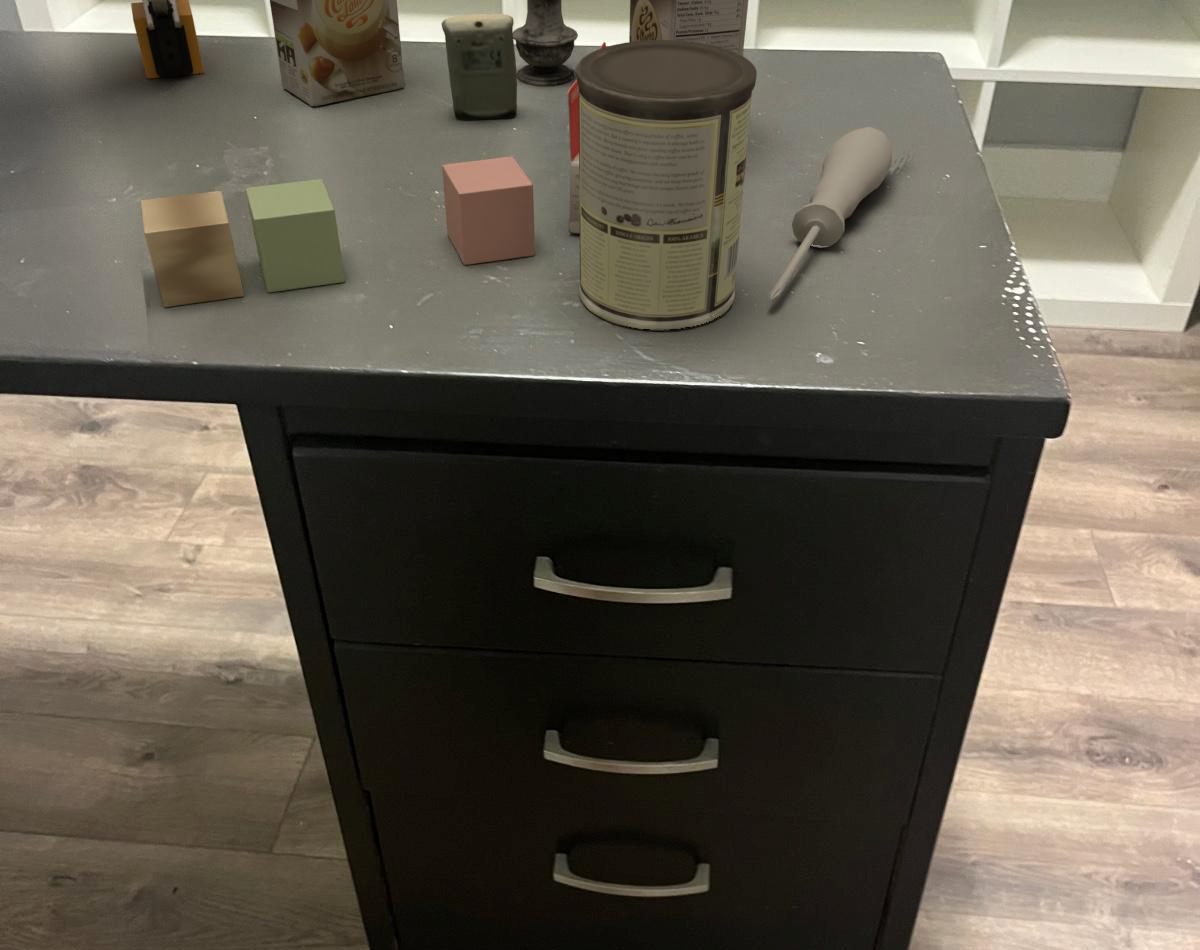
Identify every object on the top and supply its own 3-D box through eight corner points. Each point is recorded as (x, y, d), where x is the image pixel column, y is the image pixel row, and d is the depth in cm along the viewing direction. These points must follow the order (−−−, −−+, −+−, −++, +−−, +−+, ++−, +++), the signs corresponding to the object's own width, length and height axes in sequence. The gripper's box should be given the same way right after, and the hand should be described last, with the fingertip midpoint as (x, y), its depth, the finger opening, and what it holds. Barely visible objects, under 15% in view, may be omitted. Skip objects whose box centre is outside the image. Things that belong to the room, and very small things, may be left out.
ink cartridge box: (634, 177, 90) (638, 42, 84) (600, 239, 82) (602, 95, 76) (602, 173, 91) (604, 39, 84) (566, 235, 83) (565, 92, 76)
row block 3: (464, 265, 79) (458, 193, 76) (447, 234, 83) (441, 164, 79) (535, 255, 80) (533, 184, 77) (515, 225, 84) (513, 155, 81)
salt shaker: (556, 91, 104) (555, -61, 96) (501, 79, 106) (494, -70, 98) (589, 72, 108) (590, -75, 100) (534, 61, 110) (531, -84, 102)
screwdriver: (740, 329, 76) (730, 269, 74) (842, 170, 92) (838, 116, 90) (811, 330, 74) (804, 268, 72) (903, 167, 90) (900, 112, 88)
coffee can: (567, 261, 80) (566, 41, 70) (716, 253, 81) (734, 35, 72) (588, 337, 72) (589, 102, 63) (751, 327, 73) (777, 94, 64)
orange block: (147, 78, 106) (132, 19, 102) (144, 61, 109) (130, 2, 106) (204, 73, 107) (192, 14, 103) (200, 56, 110) (188, -2, 107)
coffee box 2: (623, 124, 99) (628, -95, 88) (694, 116, 100) (708, -100, 89) (661, 165, 92) (672, -65, 81) (737, 156, 94) (757, -71, 83)
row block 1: (163, 307, 74) (144, 232, 71) (159, 272, 78) (140, 199, 75) (244, 296, 76) (228, 222, 72) (236, 262, 79) (221, 190, 76)
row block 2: (267, 293, 76) (253, 219, 73) (259, 259, 80) (245, 187, 76) (345, 282, 77) (334, 209, 74) (333, 249, 81) (322, 178, 77)
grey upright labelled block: (471, 132, 97) (465, 29, 91) (436, 114, 100) (428, 13, 94) (527, 117, 100) (524, 15, 94) (491, 99, 103) (487, 0, 97)
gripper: (72, -186, 101) (127, 38, 113) (73, -147, 89) (134, 99, 101) (163, -190, 102) (207, 31, 115) (176, -152, 90) (224, 90, 103)
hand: (172, 61), depth 108 cm, fingers open, 5 cm apart
